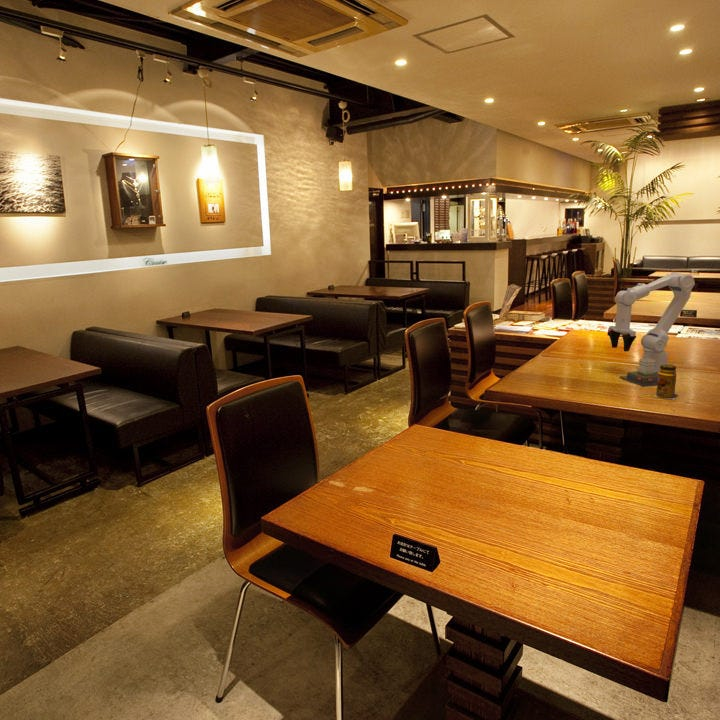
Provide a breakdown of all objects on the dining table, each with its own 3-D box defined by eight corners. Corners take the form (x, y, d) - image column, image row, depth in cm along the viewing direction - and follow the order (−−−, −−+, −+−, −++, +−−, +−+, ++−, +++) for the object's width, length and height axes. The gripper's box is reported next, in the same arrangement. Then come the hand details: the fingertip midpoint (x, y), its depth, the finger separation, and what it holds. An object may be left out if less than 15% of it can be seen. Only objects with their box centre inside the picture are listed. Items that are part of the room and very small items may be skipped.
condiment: (652, 396, 208) (655, 366, 205) (658, 391, 214) (661, 361, 211) (674, 400, 203) (677, 369, 200) (679, 394, 210) (682, 364, 207)
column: (646, 372, 230) (648, 357, 229) (654, 375, 226) (655, 360, 224) (637, 373, 229) (639, 358, 228) (645, 376, 225) (646, 361, 224)
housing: (647, 375, 236) (648, 368, 236) (672, 383, 223) (673, 376, 222) (619, 378, 233) (619, 371, 233) (643, 387, 220) (643, 379, 219)
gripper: (604, 316, 242) (601, 346, 246) (626, 322, 229) (623, 353, 232) (617, 315, 244) (615, 345, 247) (641, 320, 230) (638, 352, 234)
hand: (620, 349), depth 240 cm, fingers open, 7 cm apart
